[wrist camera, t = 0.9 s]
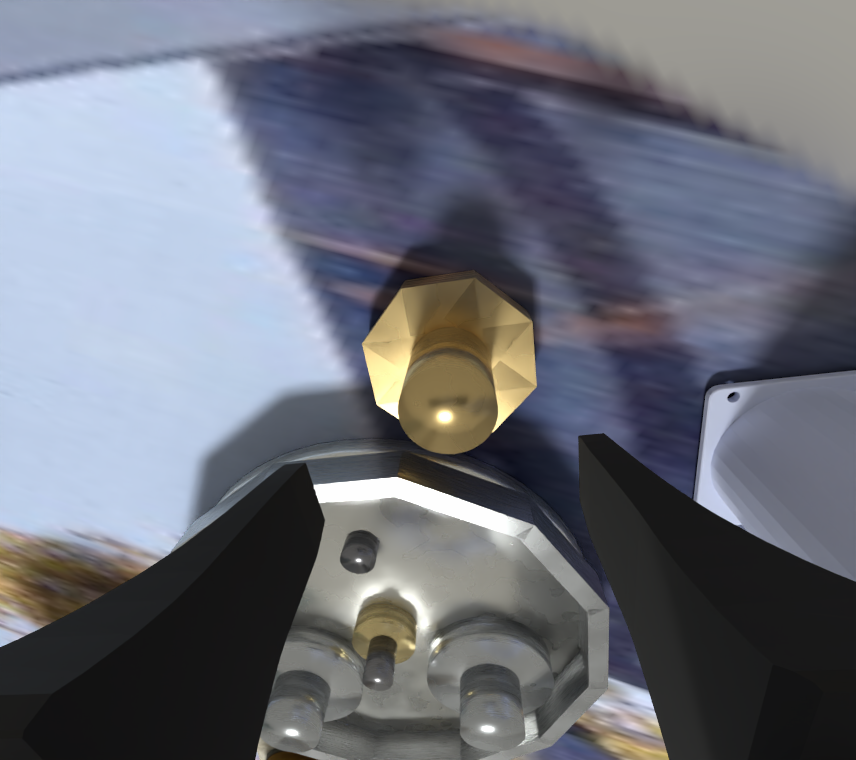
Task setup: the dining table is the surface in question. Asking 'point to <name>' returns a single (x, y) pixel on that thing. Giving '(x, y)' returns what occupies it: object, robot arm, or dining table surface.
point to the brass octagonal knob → (451, 359)
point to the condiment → (277, 753)
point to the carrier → (431, 612)
